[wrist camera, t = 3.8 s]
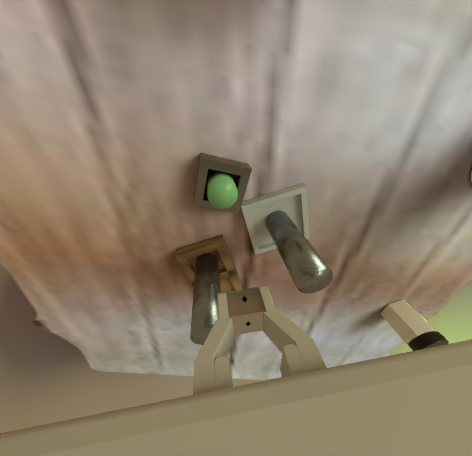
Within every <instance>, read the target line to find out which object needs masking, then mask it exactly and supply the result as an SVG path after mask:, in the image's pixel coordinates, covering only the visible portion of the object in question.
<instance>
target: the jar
mask: <svg viewBox="0 0 472 456" xmlns="http://www.w3.org/2000/svg"><path fill="white" fill-rule="evenodd" d="M380 314H381V315H382V316H383V317H384V318H385V319H386V321H387V322H388V323H389V324H390V325H391V327H392V328H393V329H394V330H395V331H396V332H397V334H398V335H399V336H400V337H401V338H402V339H403V341H404V342H405V343H406V344H408V345H409V347H410V348H411V349H412V350H413V351H416V350H421V349H426V348H431V347H437V346H442V345H447V344H448V343H449V342H448V341H447V340H446V339H445V337H444V336H442V335H441V334H440V333H439V332H438V331H437V330H436V329H435V328H434V327H433V326H432V325H431V324H430V323H429V322H428V321H427V320H426V319H425V318H424V317H423V316H422V315H421V314H419V313H418V312H417V311H416V310H415V309H414V308H413V307H412V306H411V305H410V304H409V303H407V302H406V301H405V300H403V299H402V300H399V301H396V302H393V303H390V304H388V305H387V306H386V307H385V308H384V309H383V311H382V312H381V313H380Z"/></svg>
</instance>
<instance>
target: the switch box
mask: <svg viewBox="0 0 472 456" xmlns="http://www.w3.org/2000/svg"><path fill="white" fill-rule="evenodd" d="M208 169H212V170H217V171H221V172H226V173H230V174H235V175H237V176H236V180H235V185H236V188H237V190H238V198H237V200H236V202H235V203H234V204H233V205H232V206H231V207H229V208H225V209H220V208H216V207H214V206H213V205H212V204H211V203H210V202H209V200H208V195H207V193H204V190H205V184H206V179H207V173H208ZM251 170H252V169H251V167H250V166H249V165H248V164H247V163H242V162H238V161H234V160H230V159H225V158H221V157H217V156H213V155H208V154H204V153H201V156H200V163H199V170H198V177H197V183H196V190H195V197H194V205H193V206H196V207H202V208H208V209H214V210H220V211H227V212H233V213H239V211H240V208H241V204H242V201H243V198H244V194H245V191H246V187H247V184H248V180H249V177H250V173H251Z"/></svg>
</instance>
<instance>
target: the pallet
mask: <svg viewBox="0 0 472 456" xmlns="http://www.w3.org/2000/svg"><path fill="white" fill-rule="evenodd" d="M204 253H211V254H214V255H215V256H216V257H217V258H218V261H219V272H220V284H221V293H223V292H230V291H237V290H242V289H244V288H243V285H242V283H241V280H240V278H239V275H238V273H237V270H236V268H235V265H234V263H233V260H232V258H231V255H230V253H229V250H228V248H227V245H226V243H225V240H224V238H223V236H222V235H219V236H216V237H213V238H210V239H207V240H203V241H200V242H197V243H194V244H191V245H187V246H184V247H181V248H178V249H176V253H175V258H176V259H177V261H178V263H179V264H180V266H181V267H182V269H183V270H184V272H185V273H186V275H187V277H188V278H189V280H190V281H191V283H192V284H193V286H194V277H195V263H196V259H197V257H198V256H200V255H201V254H204Z"/></svg>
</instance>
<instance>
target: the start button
mask: <svg viewBox="0 0 472 456" xmlns="http://www.w3.org/2000/svg"><path fill="white" fill-rule="evenodd" d="M207 195H208V200H209V202H210V203H211V204H212V205H213V206H214V207H216V208H220V209H225V208H229V207H231V206H232V205H233V204H234V203H235V202H236V200H237V198H238V190H237V188H236V185H235V183H234V180H233V178H232V176H231V175H230V174H228V173H226V172H221V171H218V172H215V173H213V174H212V175H211V176H210V177H209V179H208V182H207Z"/></svg>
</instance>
